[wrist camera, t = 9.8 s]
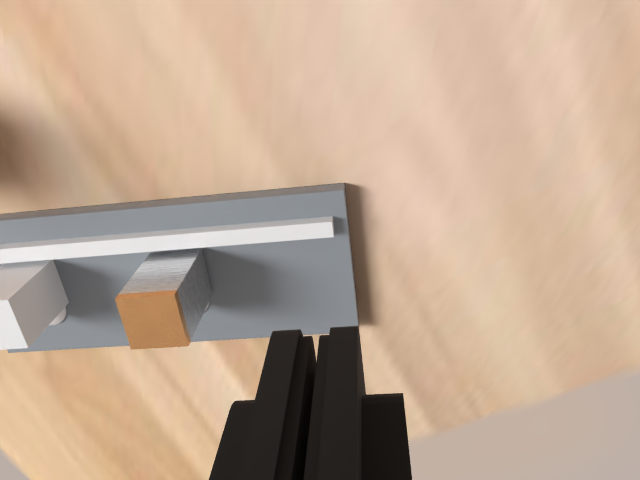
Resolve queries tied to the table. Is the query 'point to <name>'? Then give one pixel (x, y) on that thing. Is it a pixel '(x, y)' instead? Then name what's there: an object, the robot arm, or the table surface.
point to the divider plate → (172, 235)
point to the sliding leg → (165, 299)
